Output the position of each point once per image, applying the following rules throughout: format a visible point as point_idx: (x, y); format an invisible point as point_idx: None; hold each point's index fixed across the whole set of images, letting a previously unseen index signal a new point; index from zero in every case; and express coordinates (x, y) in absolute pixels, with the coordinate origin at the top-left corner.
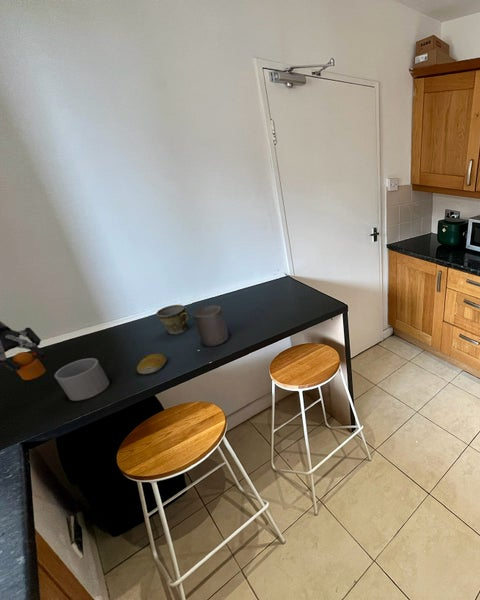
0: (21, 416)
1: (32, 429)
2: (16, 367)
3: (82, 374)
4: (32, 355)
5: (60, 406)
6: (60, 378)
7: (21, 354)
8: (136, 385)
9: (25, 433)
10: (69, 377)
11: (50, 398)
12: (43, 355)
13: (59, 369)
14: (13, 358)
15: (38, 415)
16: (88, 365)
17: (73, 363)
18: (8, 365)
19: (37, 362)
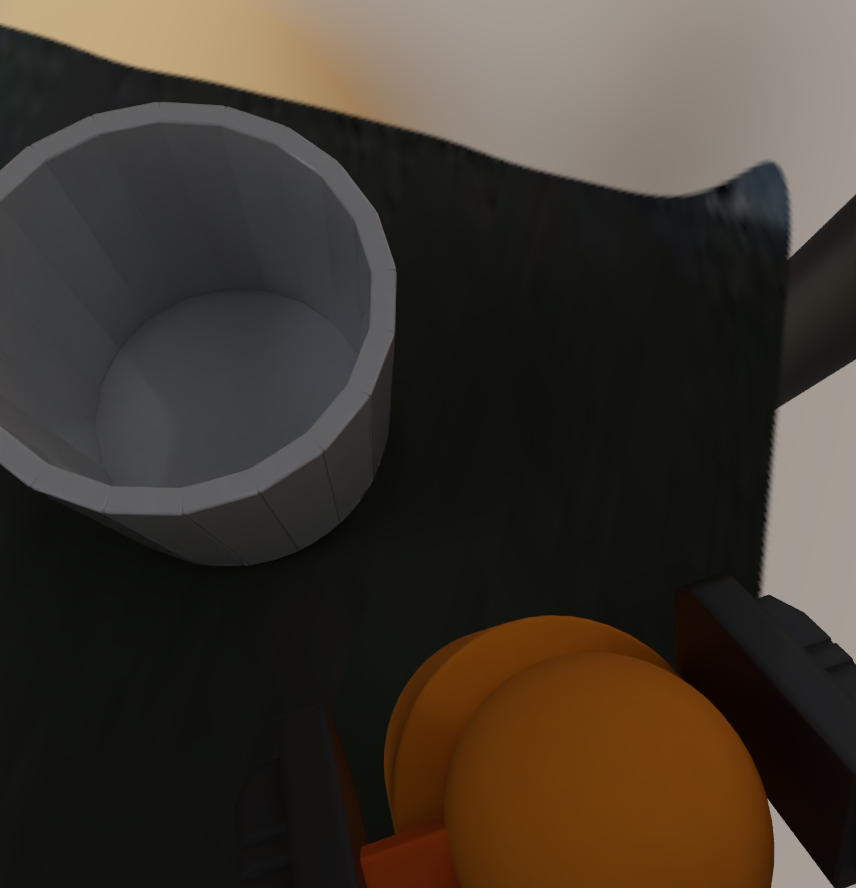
0: (679, 527)
1: (657, 275)
2: (729, 576)
3: (206, 108)
4: (439, 822)
5: (464, 384)
6: (371, 223)
7: (628, 755)
8: (29, 121)
9: (695, 272)
10: (309, 155)
11: (474, 596)
12: (303, 709)
13: (294, 467)
14: (766, 811)
15: (596, 415)
16: (49, 454)
17: (127, 487)
18: (844, 670)
19: (435, 669)
